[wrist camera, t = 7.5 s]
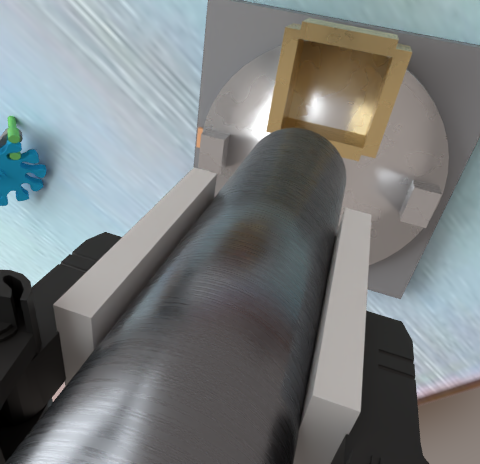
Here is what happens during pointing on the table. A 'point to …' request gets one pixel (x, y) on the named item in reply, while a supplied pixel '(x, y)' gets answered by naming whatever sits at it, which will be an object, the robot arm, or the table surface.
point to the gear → (17, 165)
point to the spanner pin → (214, 328)
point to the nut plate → (421, 65)
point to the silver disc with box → (341, 122)
